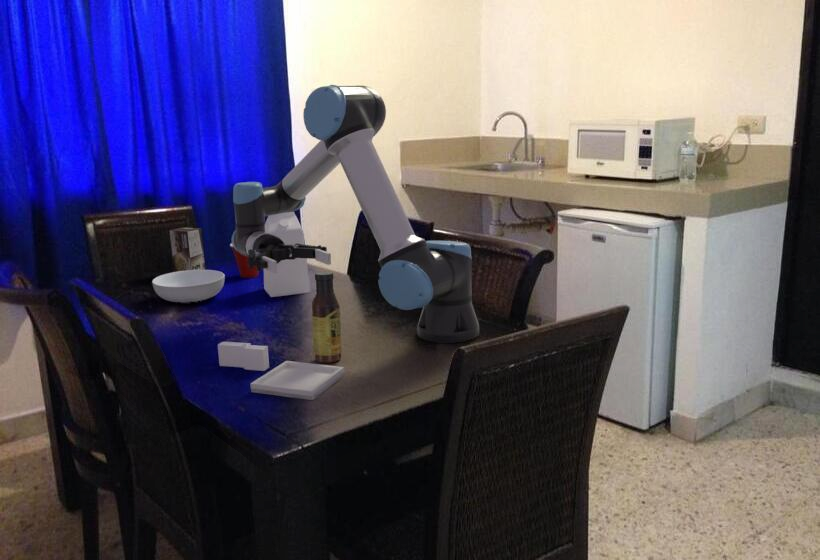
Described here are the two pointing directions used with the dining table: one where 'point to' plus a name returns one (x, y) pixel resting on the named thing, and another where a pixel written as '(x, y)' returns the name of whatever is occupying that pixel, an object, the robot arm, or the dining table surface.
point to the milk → (289, 272)
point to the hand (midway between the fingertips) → (302, 263)
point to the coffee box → (187, 249)
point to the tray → (298, 380)
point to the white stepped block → (243, 355)
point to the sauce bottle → (326, 320)
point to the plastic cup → (244, 265)
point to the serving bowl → (189, 285)
